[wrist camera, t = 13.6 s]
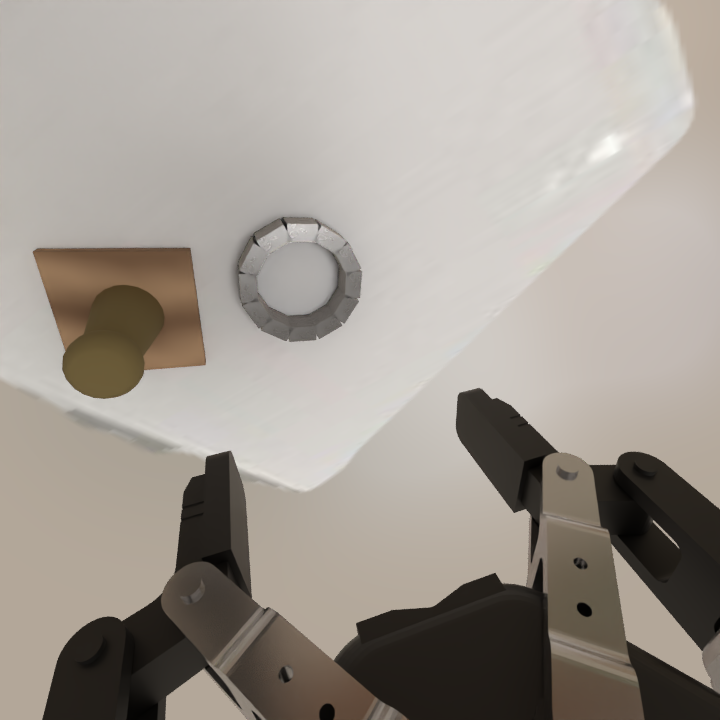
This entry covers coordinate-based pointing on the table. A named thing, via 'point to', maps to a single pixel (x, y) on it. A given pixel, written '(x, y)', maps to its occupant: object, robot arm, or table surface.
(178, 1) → the table surface
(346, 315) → the metal collar
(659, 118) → the table surface
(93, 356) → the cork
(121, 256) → the walnut board
